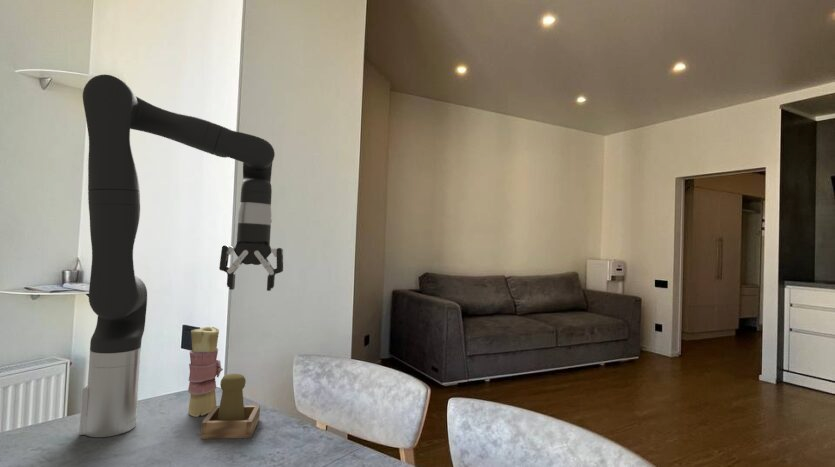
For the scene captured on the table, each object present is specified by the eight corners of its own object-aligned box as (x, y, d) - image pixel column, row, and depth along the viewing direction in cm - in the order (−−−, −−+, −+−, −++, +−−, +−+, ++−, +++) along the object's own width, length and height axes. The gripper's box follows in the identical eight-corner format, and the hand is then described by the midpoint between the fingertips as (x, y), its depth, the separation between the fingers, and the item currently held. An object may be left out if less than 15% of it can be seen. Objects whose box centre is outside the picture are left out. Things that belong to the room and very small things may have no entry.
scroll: (226, 407, 112) (231, 326, 113) (209, 418, 105) (215, 332, 105) (197, 404, 113) (202, 325, 114) (179, 415, 105) (184, 330, 106)
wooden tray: (200, 438, 94) (201, 422, 94) (214, 420, 104) (215, 405, 104) (250, 437, 95) (251, 421, 95) (259, 419, 105) (260, 405, 105)
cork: (226, 432, 95) (229, 380, 96) (210, 425, 99) (213, 375, 99) (250, 424, 100) (253, 374, 101) (234, 417, 104) (237, 369, 104)
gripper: (219, 220, 103) (214, 290, 103) (283, 223, 106) (279, 292, 105) (227, 221, 111) (223, 287, 110) (286, 225, 113) (283, 289, 112)
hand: (250, 289), depth 108 cm, fingers open, 8 cm apart
